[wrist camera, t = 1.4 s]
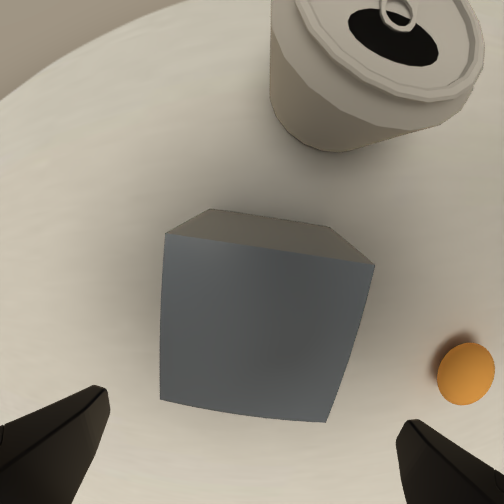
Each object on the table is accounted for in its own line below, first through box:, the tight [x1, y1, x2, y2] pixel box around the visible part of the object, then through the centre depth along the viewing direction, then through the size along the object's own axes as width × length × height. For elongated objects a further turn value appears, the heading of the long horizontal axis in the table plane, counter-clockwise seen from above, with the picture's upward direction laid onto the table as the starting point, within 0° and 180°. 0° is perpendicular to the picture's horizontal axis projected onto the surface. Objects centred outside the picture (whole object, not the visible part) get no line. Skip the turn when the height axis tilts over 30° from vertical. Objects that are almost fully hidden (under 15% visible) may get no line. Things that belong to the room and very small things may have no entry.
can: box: [270, 0, 485, 152], centre depth 12 cm, size 8×8×12 cm
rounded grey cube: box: [160, 209, 375, 423], centre depth 16 cm, size 8×8×9 cm
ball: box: [437, 343, 495, 405], centre depth 19 cm, size 5×5×5 cm
